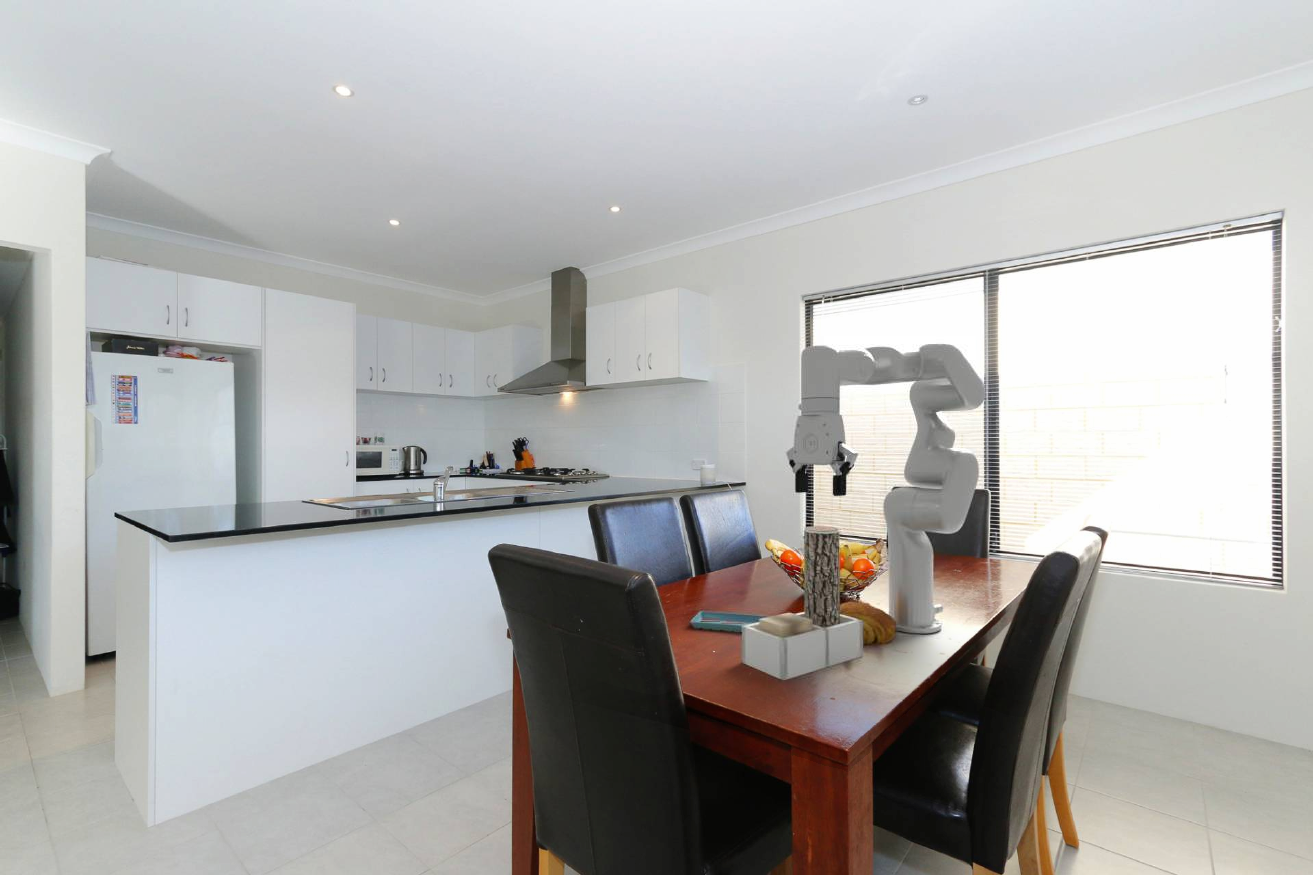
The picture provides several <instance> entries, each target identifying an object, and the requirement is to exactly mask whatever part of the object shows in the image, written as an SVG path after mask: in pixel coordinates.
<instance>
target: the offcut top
mask: <svg viewBox="0 0 1313 875" xmlns="http://www.w3.org/2000/svg"><path fill="white" fill-rule="evenodd" d="M796 614H797V613H792V612H787V613H786V612H785V613H782V614H776V615H772V616H771V615H770V616H771V617H766V618H761V619H759V630H761V631H763V632H766V633H769V634H772V635H775V636H777V637H780V638H787V637H791V636H795V635H799V634H803V633H807V632H811V631H812V619H808V618H805V617H802V616H799V615H796Z"/></svg>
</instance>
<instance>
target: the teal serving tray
mask: <svg viewBox="0 0 1313 875" xmlns="http://www.w3.org/2000/svg"><path fill="white" fill-rule="evenodd" d="M766 617H771V615H770V616H769V615H760V614H759V615H758V614H745V613H732V612H719V611H705V610H703V611H702V610H701V611H699V612H698V613H697V614H695V616H694V617H693V618H692V619H691V620H690V624H691V625H692V627H693V628H694V629H699V628H703V629H702V630H709V629H712V630H711V631H720V630H724V631H723V632H731V631H734V632H733V633H741V632H742V626H744V625H748V624H753V623H757V622H759V619H761V618H766ZM702 619H715V620H702ZM700 621H720V622H700ZM727 621H732V622H727ZM721 623H743V624H721ZM746 623H747V624H746Z"/></svg>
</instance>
